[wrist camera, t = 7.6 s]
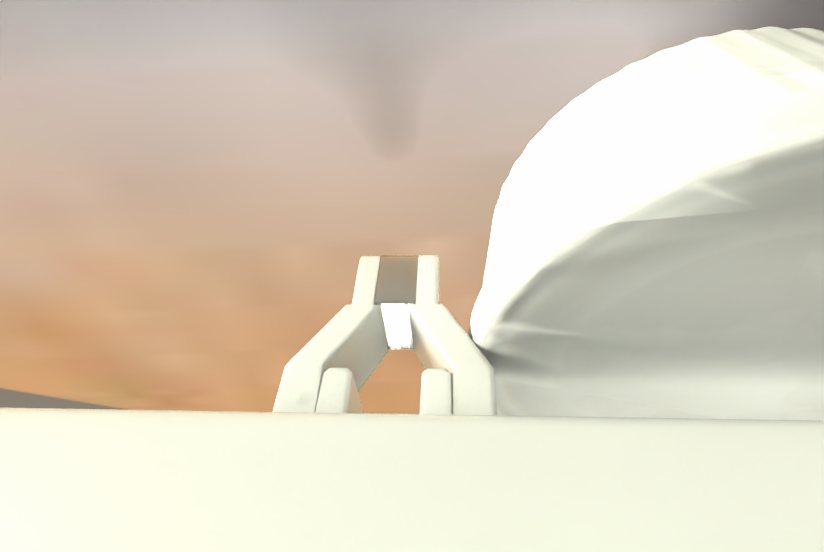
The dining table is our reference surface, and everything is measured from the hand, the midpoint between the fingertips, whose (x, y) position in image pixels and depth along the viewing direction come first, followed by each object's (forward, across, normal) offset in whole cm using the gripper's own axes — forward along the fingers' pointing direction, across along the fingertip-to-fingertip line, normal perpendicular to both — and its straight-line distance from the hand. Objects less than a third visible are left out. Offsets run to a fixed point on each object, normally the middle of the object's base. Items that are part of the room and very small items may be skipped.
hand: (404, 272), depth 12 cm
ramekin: (+2, -7, 0) cm, 8 cm away
